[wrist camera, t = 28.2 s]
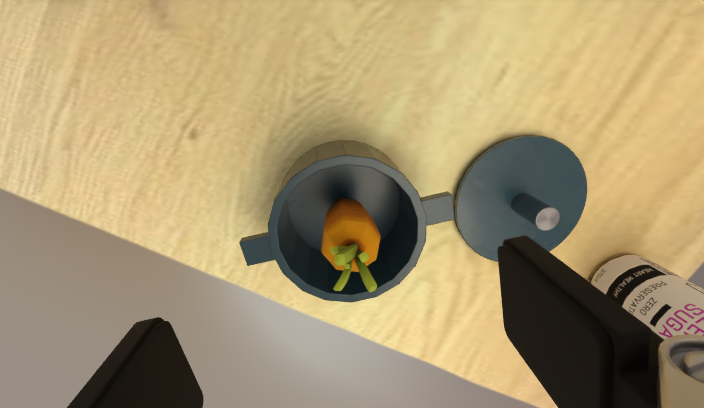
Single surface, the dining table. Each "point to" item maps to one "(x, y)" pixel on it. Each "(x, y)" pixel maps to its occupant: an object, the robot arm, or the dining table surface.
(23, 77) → the dining table surface
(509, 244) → the robot arm
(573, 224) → the pot lid
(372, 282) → the carrot
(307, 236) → the pot
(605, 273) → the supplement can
